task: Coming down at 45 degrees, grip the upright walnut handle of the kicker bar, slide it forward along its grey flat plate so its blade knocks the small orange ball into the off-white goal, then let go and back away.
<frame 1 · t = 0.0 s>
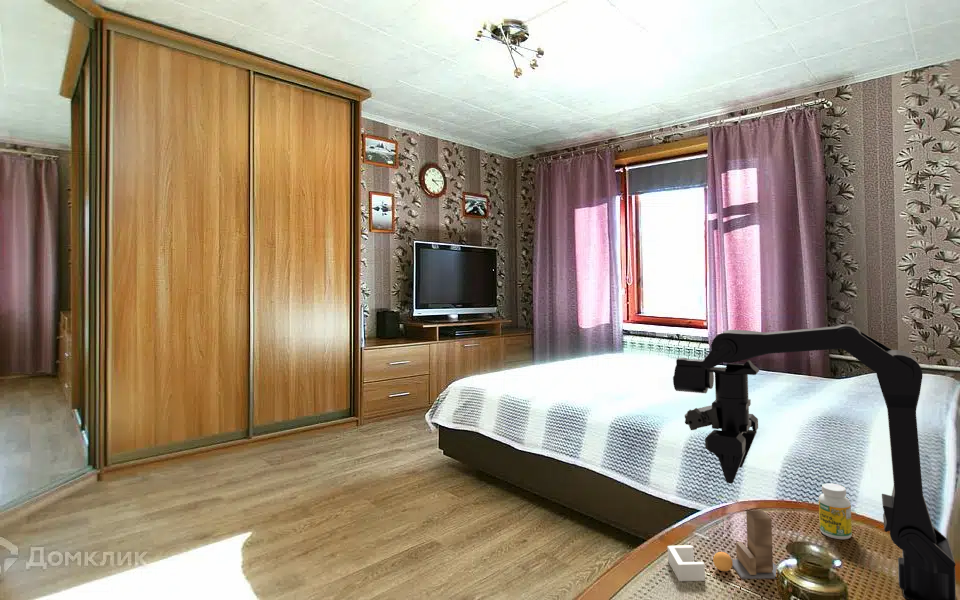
hand: (734, 474, 100), 15 cm above the table, tool pointing down, fingers open, 9 cm apart
goal: (687, 570, 94), on the table
kicker: (755, 540, 93), point 5 cm above the table, slide at 0.0 cm
grey flat plate: (756, 569, 93), on the table
ball: (722, 561, 93), point 2 cm above the table
supplement bottle: (835, 534, 104), on the table
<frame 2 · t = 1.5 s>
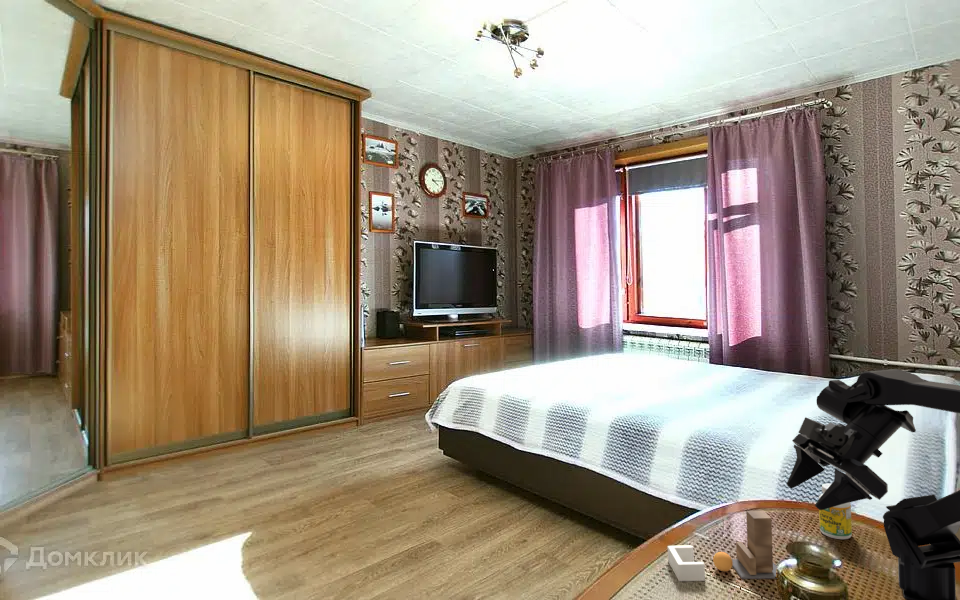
hand: (802, 496, 92), 13 cm above the table, tool tilted 45°, fingers open, 9 cm apart
nothing on the table moved.
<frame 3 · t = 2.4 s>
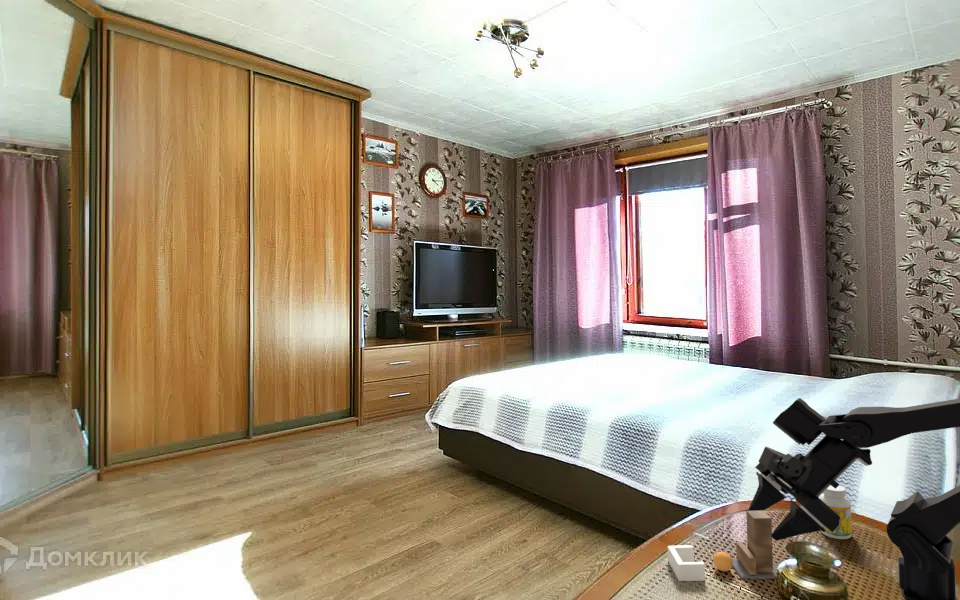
hand: (760, 525, 93), 8 cm above the table, tool tilted 45°, fingers open, 9 cm apart
nothing on the table moved.
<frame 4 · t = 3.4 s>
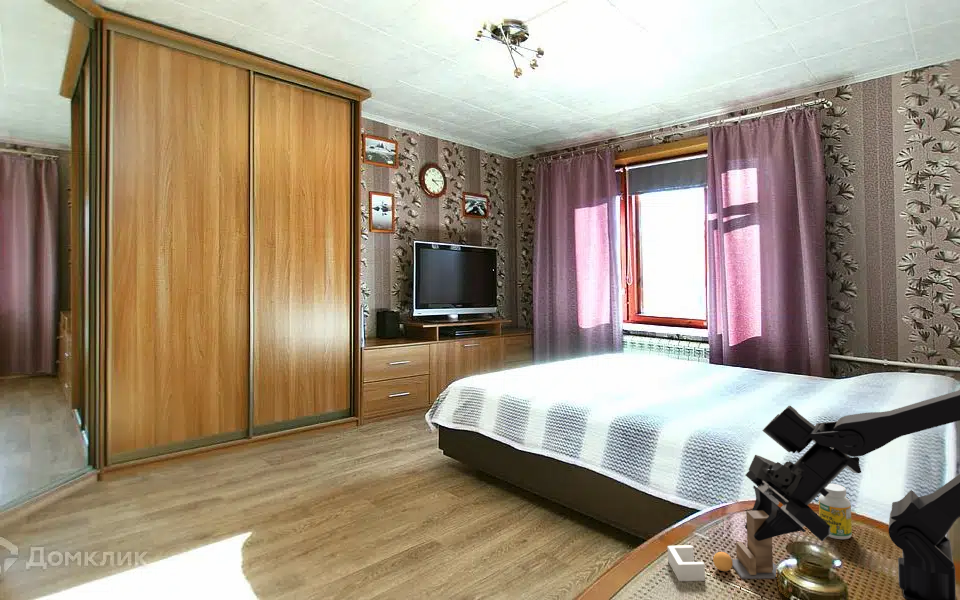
hand: (751, 534, 93), 7 cm above the table, tool tilted 45°, fingers closed on kicker, 3 cm apart
kicker: (755, 540, 93), point 5 cm above the table, slide at 0.0 cm, touching gripper
everything else where it was.
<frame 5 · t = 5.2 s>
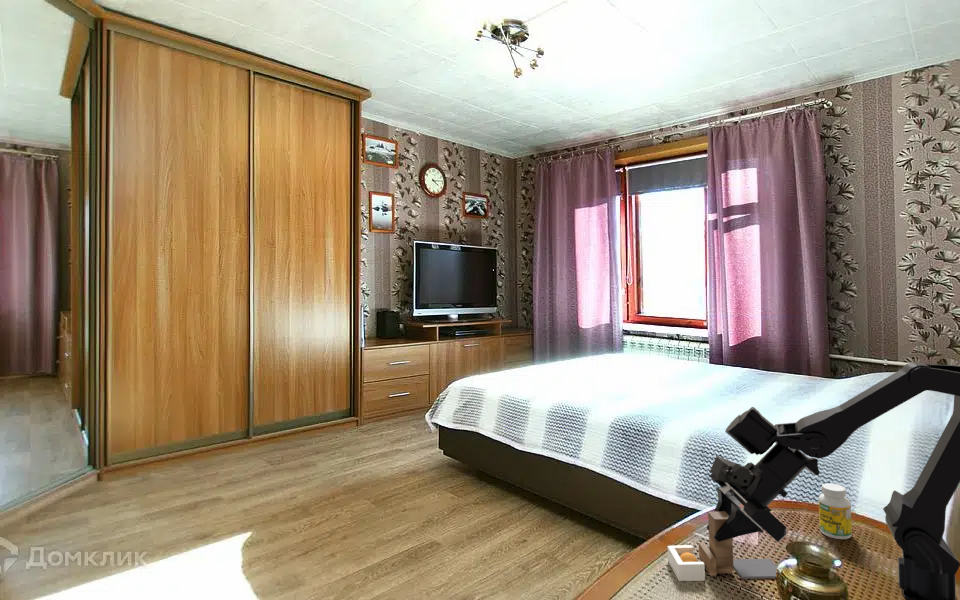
hand: (712, 534, 93), 7 cm above the table, tool tilted 45°, fingers closed on kicker, 3 cm apart
kicker: (716, 540, 93), point 5 cm above the table, slide at 6.9 cm, touching gripper
ball: (688, 562, 94), point 2 cm above the table, tilted 144°
everything else where it was.
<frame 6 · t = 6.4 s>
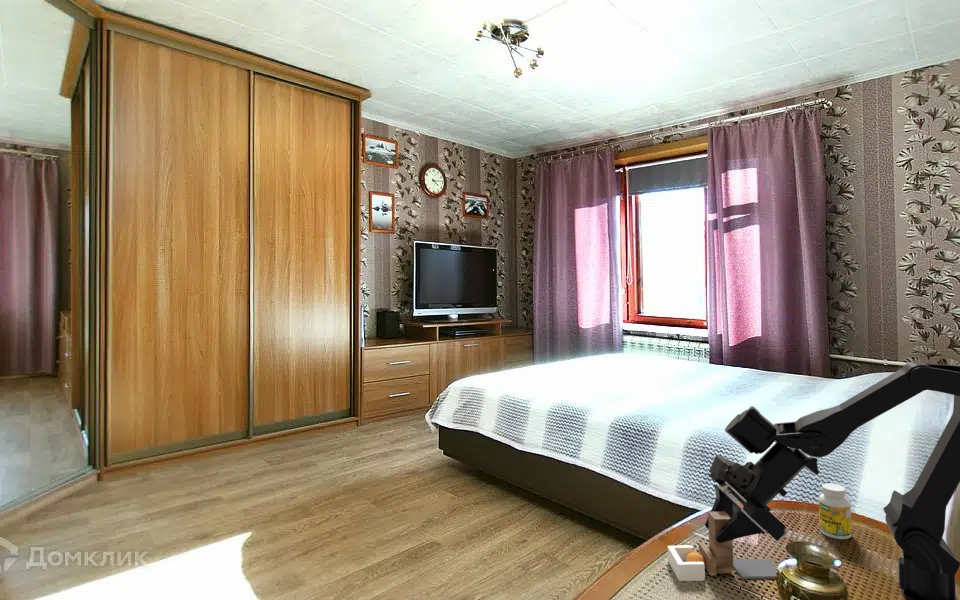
hand: (711, 534, 93), 7 cm above the table, tool tilted 45°, fingers open, 5 cm apart
kicker: (716, 540, 93), point 5 cm above the table, slide at 6.9 cm
ball: (695, 561, 94), point 2 cm above the table, tilted 172°
everything else where it was.
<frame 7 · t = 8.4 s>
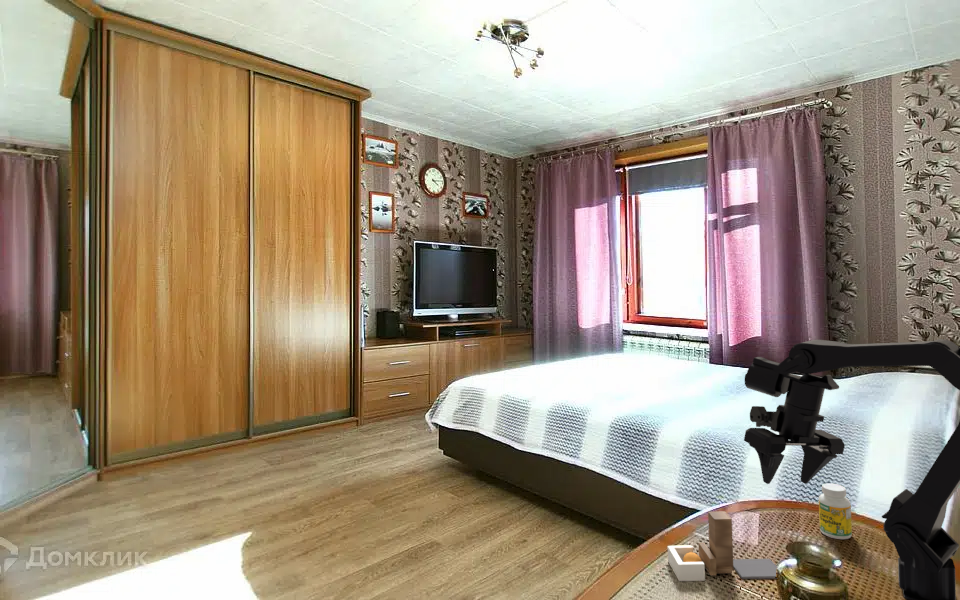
hand: (785, 482, 99), 13 cm above the table, tool pointing down, fingers open, 9 cm apart
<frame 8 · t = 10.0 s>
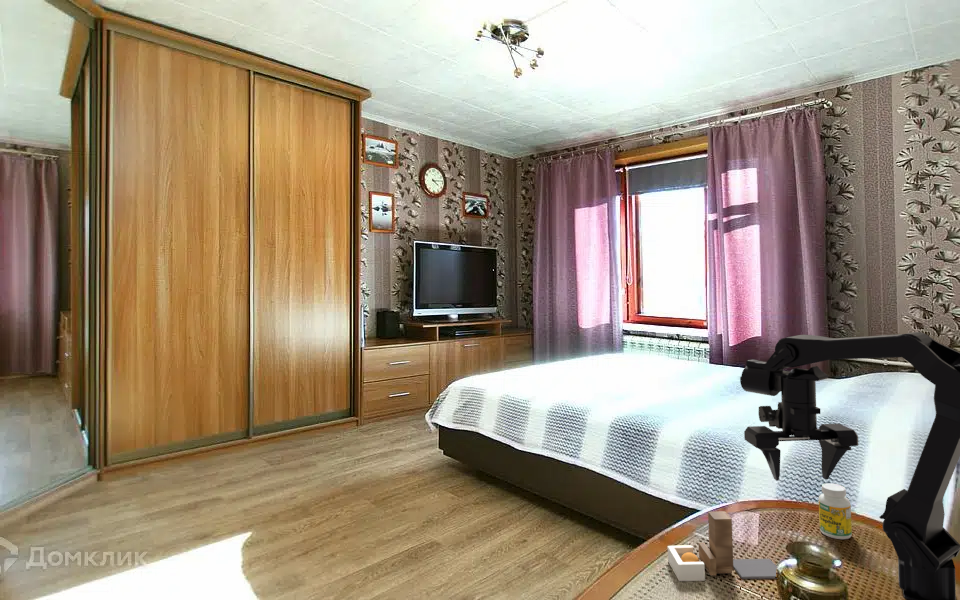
hand: (800, 479, 100), 13 cm above the table, tool pointing down, fingers open, 9 cm apart
ball: (690, 562, 94), point 2 cm above the table, tilted 154°
everything else where it was.
at the end: ball 0.5 cm from the goal (horizontally); ball point 1.6 cm above the table; kicker slide at 6.9 cm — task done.
